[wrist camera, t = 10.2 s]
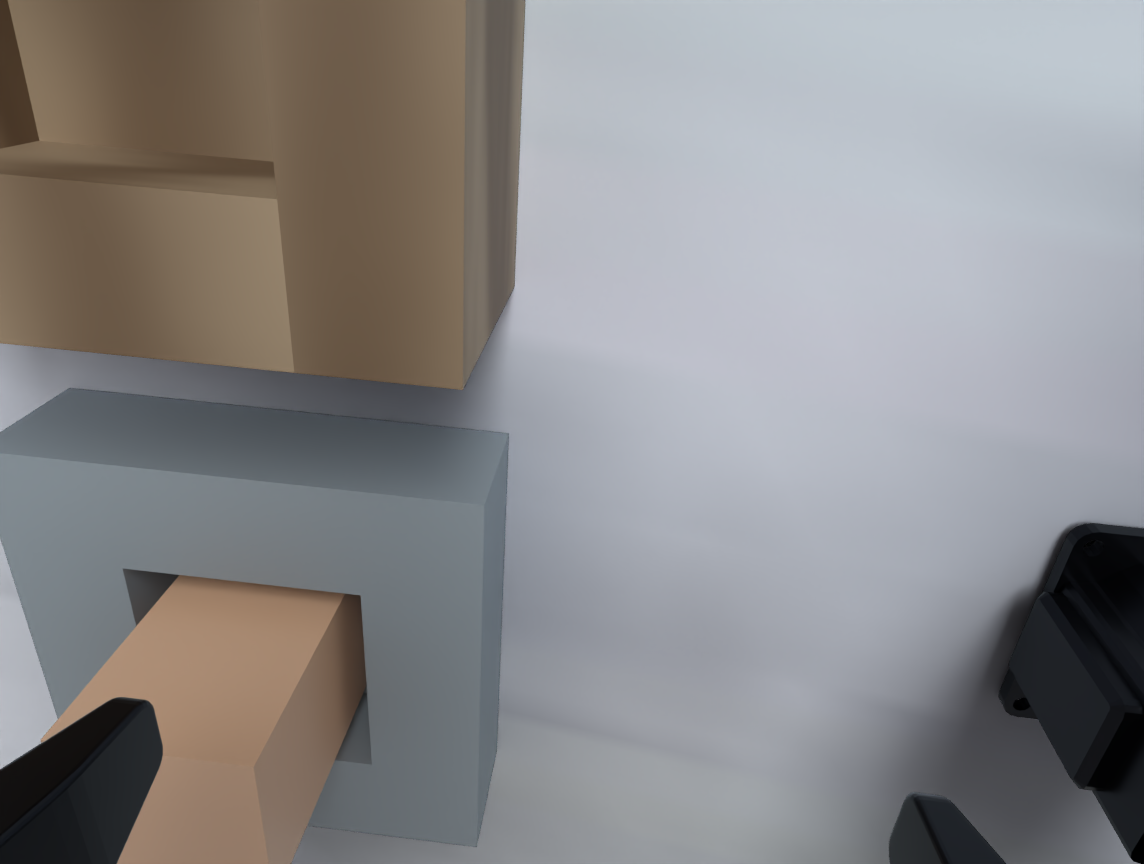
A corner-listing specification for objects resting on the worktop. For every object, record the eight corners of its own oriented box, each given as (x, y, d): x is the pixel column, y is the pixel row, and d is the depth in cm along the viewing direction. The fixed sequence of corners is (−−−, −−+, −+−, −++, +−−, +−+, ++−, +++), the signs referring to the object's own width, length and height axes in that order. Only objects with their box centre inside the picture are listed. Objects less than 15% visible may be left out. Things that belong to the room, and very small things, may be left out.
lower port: (508, 433, 21) (484, 505, 18) (497, 750, 27) (476, 847, 24) (69, 387, 22) (-28, 450, 19) (147, 708, 27) (82, 797, 24)
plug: (364, 557, 22) (253, 767, 16) (370, 675, 24) (274, 901, 18) (209, 539, 22) (40, 740, 16) (228, 657, 24) (85, 875, 18)
